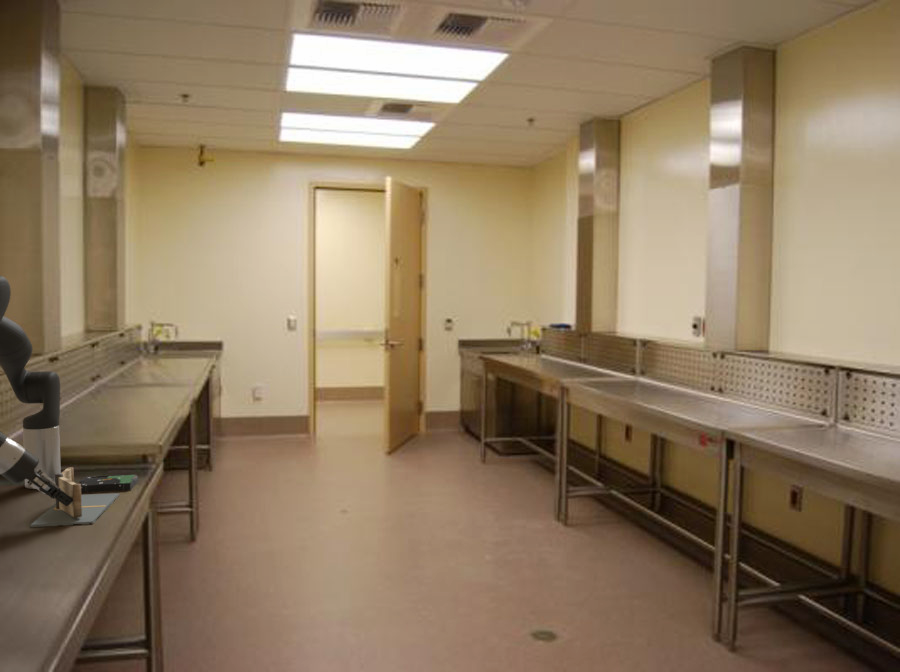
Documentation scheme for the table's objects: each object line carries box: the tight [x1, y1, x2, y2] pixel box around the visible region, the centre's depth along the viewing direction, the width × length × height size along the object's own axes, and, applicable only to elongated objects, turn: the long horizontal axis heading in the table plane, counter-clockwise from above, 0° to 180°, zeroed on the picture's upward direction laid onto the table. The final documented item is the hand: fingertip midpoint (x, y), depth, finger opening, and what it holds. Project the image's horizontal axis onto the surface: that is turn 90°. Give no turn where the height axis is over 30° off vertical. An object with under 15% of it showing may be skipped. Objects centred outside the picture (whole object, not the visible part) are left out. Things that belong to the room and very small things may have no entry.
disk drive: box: [78, 474, 139, 494], centre depth 211 cm, size 10×3×15 cm
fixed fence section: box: [55, 466, 75, 509], centre depth 192 cm, size 10×2×10 cm, turn 11°
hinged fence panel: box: [59, 477, 82, 518], centre depth 183 cm, size 12×2×8 cm, turn 46°
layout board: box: [29, 492, 120, 528], centre depth 189 cm, size 25×14×1 cm, turn 11°
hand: (69, 502), depth 179 cm, fingers closed
